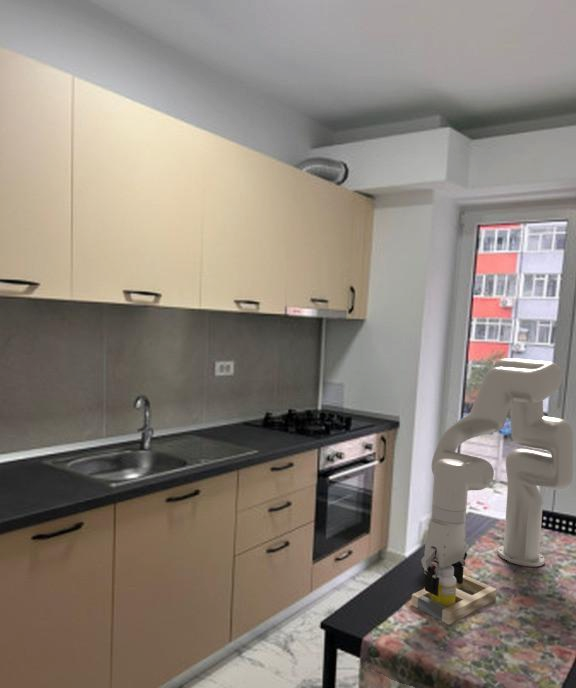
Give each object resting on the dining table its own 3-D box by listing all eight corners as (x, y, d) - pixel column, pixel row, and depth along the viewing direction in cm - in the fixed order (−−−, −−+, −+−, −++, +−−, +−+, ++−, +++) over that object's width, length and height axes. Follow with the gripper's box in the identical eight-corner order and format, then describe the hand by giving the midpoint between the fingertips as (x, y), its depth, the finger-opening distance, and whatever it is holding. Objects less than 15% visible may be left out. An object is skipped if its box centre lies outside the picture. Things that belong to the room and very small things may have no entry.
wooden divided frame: (459, 582, 137) (460, 573, 136) (496, 599, 129) (496, 589, 129) (411, 604, 124) (411, 594, 124) (448, 624, 116) (449, 613, 116)
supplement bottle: (427, 601, 126) (430, 560, 126) (451, 603, 126) (453, 562, 126) (433, 613, 120) (436, 570, 120) (457, 615, 120) (460, 572, 120)
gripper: (455, 503, 131) (451, 571, 131) (412, 515, 120) (407, 590, 120) (483, 512, 125) (478, 583, 126) (440, 526, 114) (435, 604, 115)
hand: (443, 587), depth 123 cm, fingers open, 9 cm apart
